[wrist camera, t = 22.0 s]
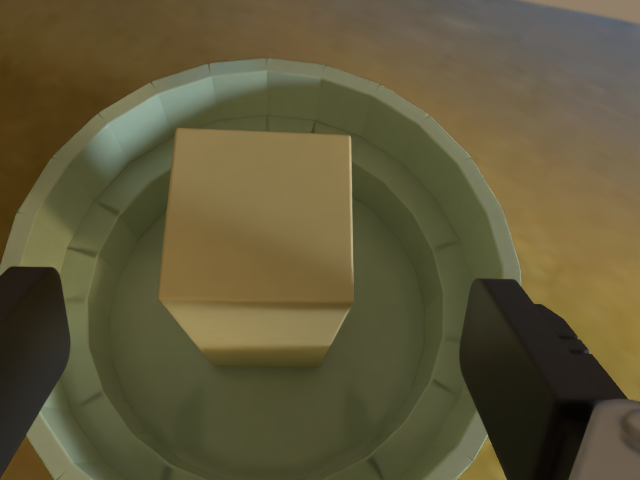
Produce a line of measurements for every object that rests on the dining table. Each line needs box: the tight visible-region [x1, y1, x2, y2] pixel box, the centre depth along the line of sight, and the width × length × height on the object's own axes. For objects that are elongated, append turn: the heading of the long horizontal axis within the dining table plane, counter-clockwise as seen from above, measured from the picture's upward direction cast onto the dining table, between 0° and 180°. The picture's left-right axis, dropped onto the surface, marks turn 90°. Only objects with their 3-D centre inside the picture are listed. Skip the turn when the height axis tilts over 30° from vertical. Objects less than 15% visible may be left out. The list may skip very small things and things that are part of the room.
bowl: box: [0, 58, 521, 480], centre depth 19 cm, size 15×15×6 cm
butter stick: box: [157, 128, 354, 367], centre depth 17 cm, size 4×4×10 cm
